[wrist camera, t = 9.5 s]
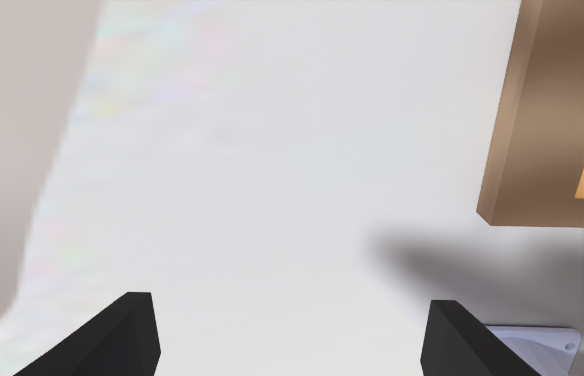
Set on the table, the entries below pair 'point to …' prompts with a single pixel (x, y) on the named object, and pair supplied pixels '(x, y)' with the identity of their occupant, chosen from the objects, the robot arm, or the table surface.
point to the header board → (539, 123)
